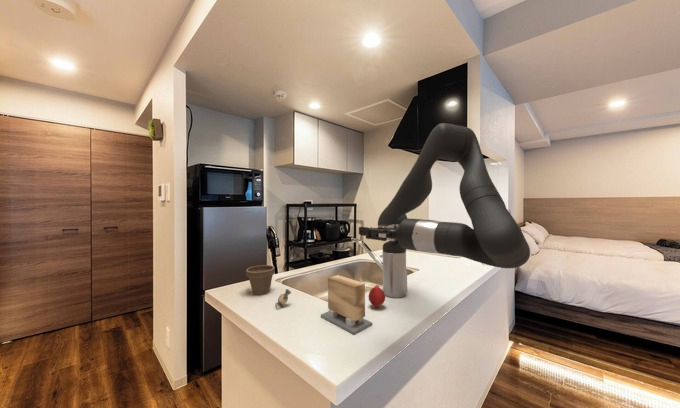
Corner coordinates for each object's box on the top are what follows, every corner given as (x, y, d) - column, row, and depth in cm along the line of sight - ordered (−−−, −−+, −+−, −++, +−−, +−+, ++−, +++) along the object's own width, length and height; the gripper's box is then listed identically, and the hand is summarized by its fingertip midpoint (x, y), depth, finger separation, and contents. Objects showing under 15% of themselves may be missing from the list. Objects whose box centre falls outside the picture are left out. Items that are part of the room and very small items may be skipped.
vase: (290, 302, 94) (290, 286, 94) (292, 309, 89) (292, 292, 89) (275, 303, 92) (275, 288, 92) (276, 311, 87) (277, 294, 87)
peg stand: (338, 309, 87) (338, 301, 87) (372, 325, 76) (372, 315, 76) (320, 317, 82) (320, 308, 82) (353, 334, 71) (353, 325, 71)
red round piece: (371, 311, 85) (371, 288, 85) (366, 304, 91) (366, 282, 91) (387, 309, 86) (387, 286, 86) (381, 303, 92) (381, 281, 92)
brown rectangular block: (338, 304, 85) (337, 275, 84) (365, 316, 76) (364, 283, 76) (328, 308, 82) (327, 277, 81) (354, 321, 73) (354, 287, 73)
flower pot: (247, 288, 108) (246, 265, 108) (274, 286, 112) (274, 263, 112) (245, 299, 97) (245, 273, 97) (275, 295, 101) (275, 270, 100)
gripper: (437, 217, 63) (385, 214, 75) (405, 221, 54) (352, 217, 66) (437, 247, 64) (385, 239, 76) (405, 256, 54) (352, 246, 66)
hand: (369, 229), depth 71 cm, fingers open, 8 cm apart
